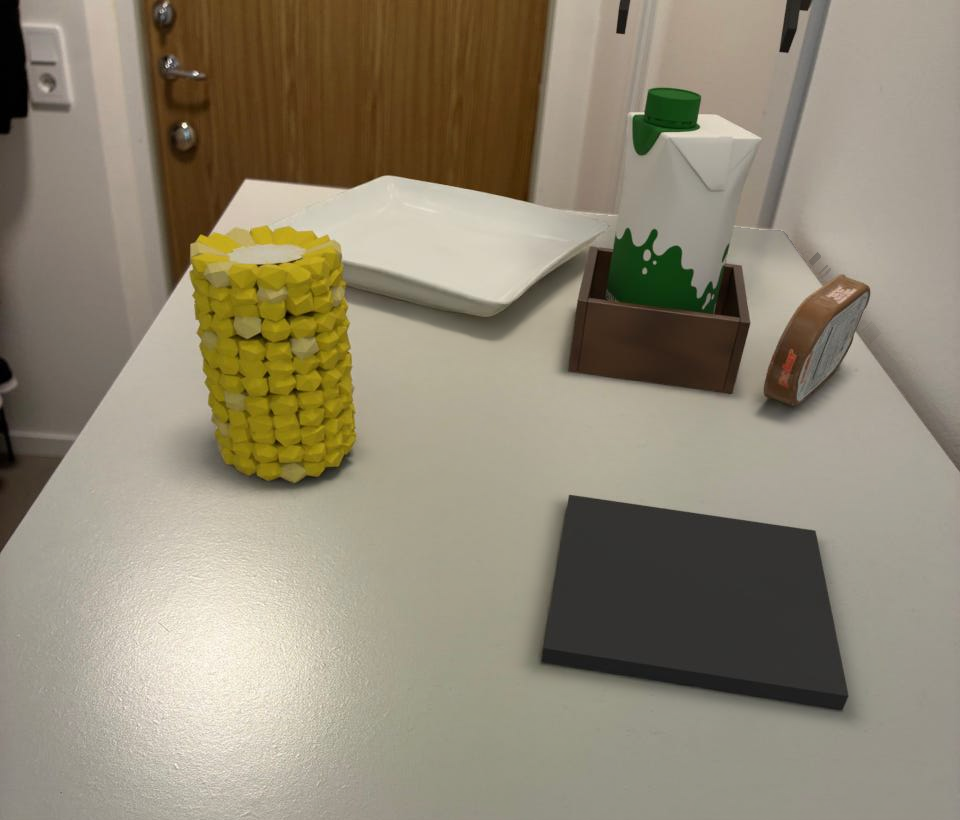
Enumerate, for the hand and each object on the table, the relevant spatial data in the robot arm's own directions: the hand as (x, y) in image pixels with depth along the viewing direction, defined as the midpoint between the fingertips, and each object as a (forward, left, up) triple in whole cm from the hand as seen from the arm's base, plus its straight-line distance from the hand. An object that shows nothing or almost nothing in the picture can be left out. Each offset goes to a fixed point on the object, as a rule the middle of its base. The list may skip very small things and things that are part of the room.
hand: (704, 32), depth 80 cm
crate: (0, +11, -22) cm, 25 cm away
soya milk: (0, +11, -23) cm, 25 cm away
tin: (-13, +15, -23) cm, 30 cm away
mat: (-3, +47, -23) cm, 53 cm away
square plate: (+22, -3, -23) cm, 32 cm away
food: (+25, +37, -23) cm, 50 cm away
